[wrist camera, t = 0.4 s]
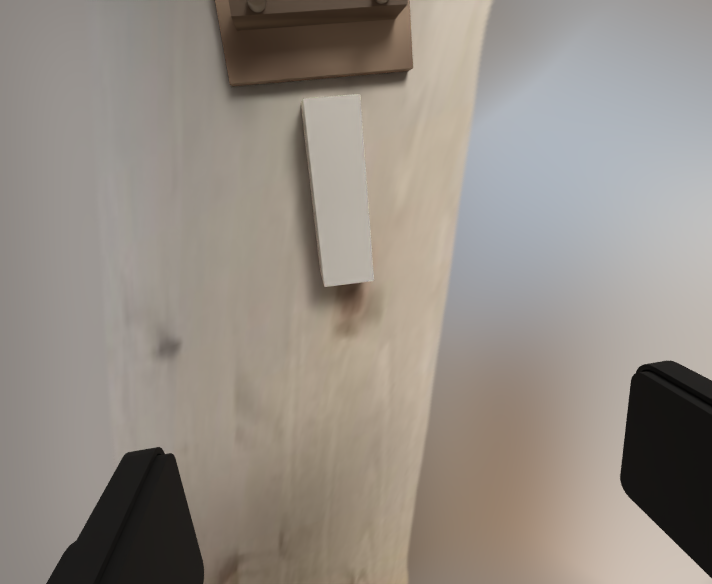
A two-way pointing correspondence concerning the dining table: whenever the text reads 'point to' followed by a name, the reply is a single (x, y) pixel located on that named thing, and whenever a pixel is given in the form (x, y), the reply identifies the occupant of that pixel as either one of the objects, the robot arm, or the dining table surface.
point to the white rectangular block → (338, 187)
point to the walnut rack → (313, 39)
